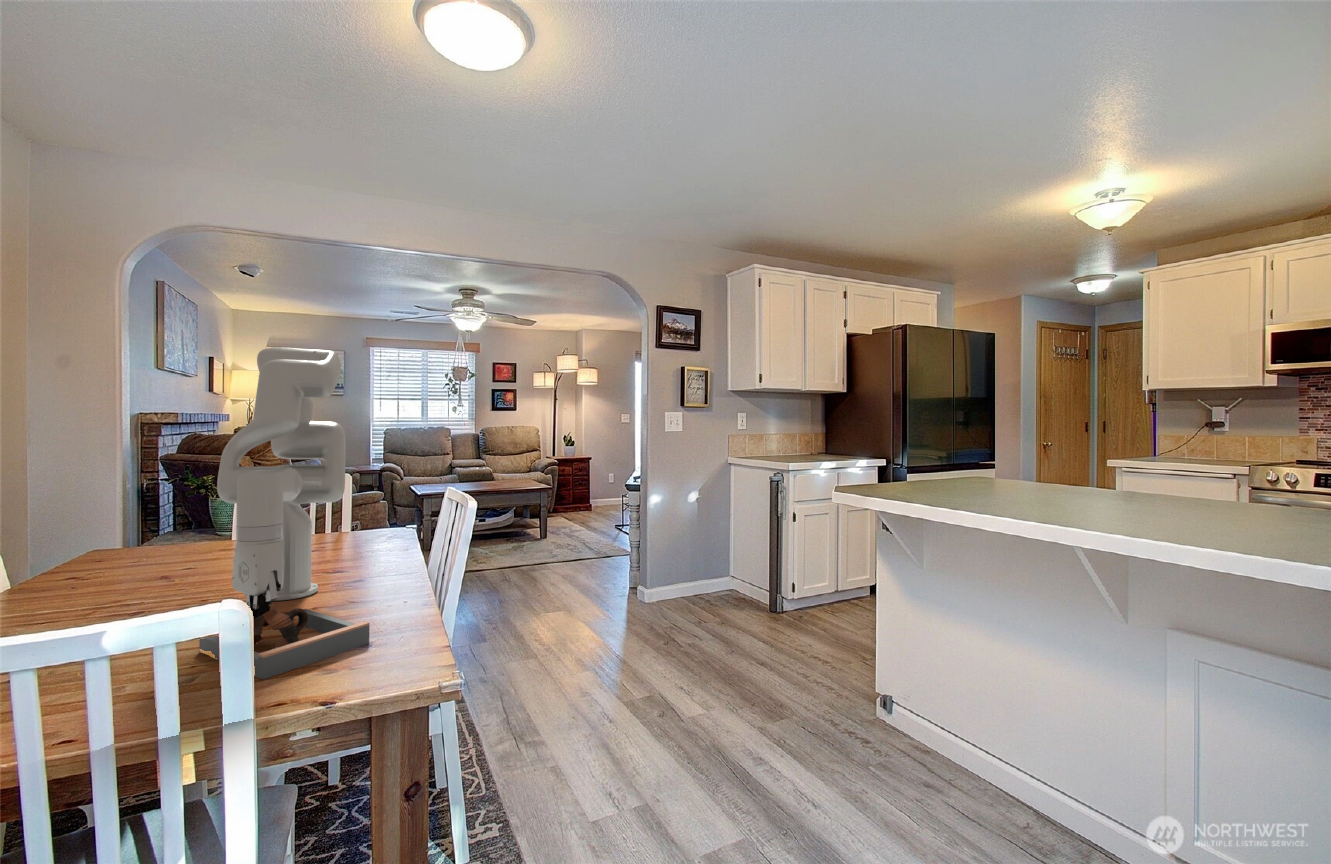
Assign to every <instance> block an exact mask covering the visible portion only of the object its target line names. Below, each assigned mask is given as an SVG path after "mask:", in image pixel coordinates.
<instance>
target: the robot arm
mask: <svg viewBox="0 0 1331 864" xmlns="http://www.w3.org/2000/svg"><path fill="white" fill-rule="evenodd" d="M256 365H257V369H258V371H259V373H258V381H257V388H256V394H255V401H254V409H253V417H252V420H251V422H249V423H247V425H245V426H243V427H242V428H241V429H240V430H239V431H237V432H236V433H235V434H234V435H233V436H232V437H231V438H230V440H229V441H228V442H227V444H226V445H225V446H224V449H223V450H222V453H221V457H220V460H219V461H220V463H219V469H218V474H217V482H216V484H217V485H216V491H217V495H218V497H219V499H220V500H221V501H223V502H225V503H227V504H231V505H232V504H236V528H235V530H236V533H235V534H236V536H235V537H236V538H235V549H234V554H233V563H232V564H233V565H232V575H231V576H232V579H231V580H232V581H231V587H232V589H234V590H235V591H236V592H240V593H242V594H243V595H245V597H246V606H247V605H248V606H250V607H249V608H251V610H252V611H253V616H254V619H256V618H257V617H259V616H262V615H263V614H265V613H267V612H268V611H270V610H271V606H272V602H273V601H287V600H288V601H289V600H295V599H300V598H305V597H309V596H312V595H313V594H315V593H317V592H318V591H319V584H317V583H315V582H312V552H313V551H312V547H313V546H312V545H313V544H312V541H313V540H312V539H313V538H312V537H313V536H312V535H313V531H312V530H313V522H312V519H311V516H310V515H309V514H308V512H307V511H306V510H305V509H304V507H302V506H301V505H302V504H303V505H304V504H323V503H324V504H325V503H335V502H338V501H340V500H341V499H342V498H343V497H344V495H345V494H344V493H345V488H346V450H347V444H346V432H345V430H344V428H343V426H342V425H341V424H340V423H338V422H335V421H326V420H325V421H319V420H317V421H316V420H314V419H313V407H314V404H313V401H312V399H311V398H320V399H321V398H323V399H325V398H329V397H330V396H332V394H333V393H334V392H335V388H336V386H337V384H338V381H339V378H340V377H341V376H340V375H341V372H342V369H341V367H342V365H341V359H340V357H339V355H338V354H337V353H336V352H335V351H332V350H327V349H316V348H315V349H314V348H300V347H299V348H298V347H283V346H281V347H276V346H275V347H268V348H263V349H262V350H260V351H259V352H258V354H257V355H256ZM268 442H270V445H271V451H272V454H273V455H274V456H275V457H276V458H280V459H283V460H284V459H286V460H321V461H323V462H324V463H325V464H279V465H274V466H266V465H265V466H264V465H263V466H240V463H241V461H242V459H243V457H244V456H245V455H246V454H247V453H248V452H249V451H251V450H252V449H255V448H256V447H258V446H259V445H262V444H265V443H268ZM265 627H269V624H268V623H267V624H265V625H264V626H263V628H265Z"/></svg>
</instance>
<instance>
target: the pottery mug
mask: <svg viewBox="0 0 1331 864" xmlns="http://www.w3.org/2000/svg"><path fill="white" fill-rule="evenodd" d="M304 609H305V608H301V607H300V608H294V609H292V610H290V611H288V612H285V613H282V612H279V611H278V608H277V607H274V608H272V609H270V611H268V612H267V613H265V614H263V615H262V616H259V617H257V618H256V619H254V644H253V645H257V644H258V643H259V642H260V641H261V640H262V639H263V636H262V635H263V630H262V629H263V628H264V627H263V626H264V625H265V624H267V623H268V624H269V625H268V627H269V628H270V629H272V630H273V631H279V632H280V634H281V635H282V639H280V640H279V641H278V642H276V643H274V645H273V647H274V649H275V648H278V647H282V646H285V645H288V644H292V643H295V642H298V641H299V635H300V632H301V631H303V629H305V628H306V627H305V626H306V624H307V621H308V614H307V612H306V611H305V610H304ZM295 617H297V618H298V617H299V622H298V621H297V624H295V623H294V622H295V621H294V619H295ZM256 643H257V644H256Z"/></svg>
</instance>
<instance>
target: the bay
mask: <svg viewBox="0 0 1331 864" xmlns="http://www.w3.org/2000/svg"><path fill="white" fill-rule="evenodd" d="M303 609H304V610H305V611H306V612H307V614H308V621H307V624H306V626H305V627H304V628H307V629H310V630H312V631H315V630H316V632H318V633H321V634H318V635H315V636H312V637H308V638H306V639H305V638H304V639H302V640H298V642H295V643H292V644H288V645H285V646H282V647H278V648H275V647H274V648H272V649H269V650H266V651H263V652H258V651H255V650H253V651H254V666H255V676H254V677H256V678H258V679H259V680H266V679H269V678H272V677H275V676H278V675H281V674H284V673H286V672H290V671H292V670H295V669H299V668H302V667H304V666H307V665H309V664H313V663H315V662H318V661H321V660H324V659H328V658H330V657H334V656H337V655H338V654H341V653H346V652H348V651H351V650H355V649H356V648H360V647H363V646H365V645H368V644H370V626H371V625H370V622H369V621H362V622H357V623H354V622H351V621H347V620H345V619H341V618H337V617H335V616H331V615H327V614H324V613H321V612H319V611H318V612H317V611H315V610H311V609H307V608H303ZM298 622H299V617H298V616H297V623H298ZM213 636H214V637H207V638H204V639H200V638H199V639H200V640H199V644H198V645H199V646H198V648H199V649H202V650H204V651H211V652H212V654H214V655H215V658H217V660H216V661H217V662H220V661H219V638H220V637H218V636H215V635H213ZM199 649H198V650H199Z"/></svg>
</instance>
